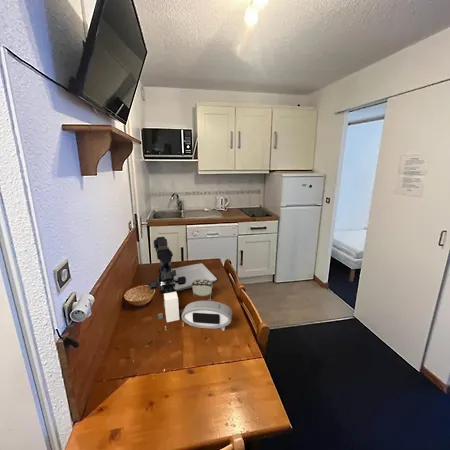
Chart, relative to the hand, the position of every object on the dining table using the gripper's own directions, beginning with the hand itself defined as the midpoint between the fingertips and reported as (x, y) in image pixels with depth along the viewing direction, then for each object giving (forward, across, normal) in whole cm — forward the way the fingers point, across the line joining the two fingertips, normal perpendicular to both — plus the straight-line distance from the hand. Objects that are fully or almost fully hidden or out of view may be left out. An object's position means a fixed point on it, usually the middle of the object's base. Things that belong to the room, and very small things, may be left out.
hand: (169, 299), depth 128 cm
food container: (-1, +20, +12) cm, 23 cm away
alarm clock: (+18, +15, -6) cm, 24 cm away
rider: (+9, 0, 0) cm, 9 cm away
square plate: (-17, +16, +28) cm, 37 cm away
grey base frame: (+9, 0, +2) cm, 9 cm away
